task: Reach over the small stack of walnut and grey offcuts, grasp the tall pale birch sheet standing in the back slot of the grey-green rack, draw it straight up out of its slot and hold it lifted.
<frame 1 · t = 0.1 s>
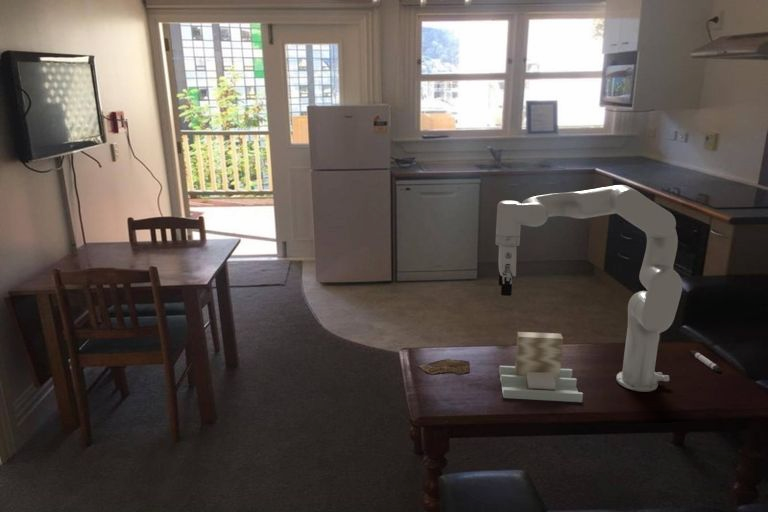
hand: (504, 290, 181), 31 cm above the table, tool pointing down, fingers open, 9 cm apart
marker: (703, 362, 199), on the table
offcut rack: (538, 388, 181), on the table
brown ridged slab: (455, 368, 196), on the table
grey offcut: (540, 383, 177), point 3 cm above the table, touching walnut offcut
birch sheet: (536, 379, 185), point 1 cm above the table, touching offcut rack
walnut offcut: (540, 390, 177), point 1 cm above the table, touching grey offcut, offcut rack
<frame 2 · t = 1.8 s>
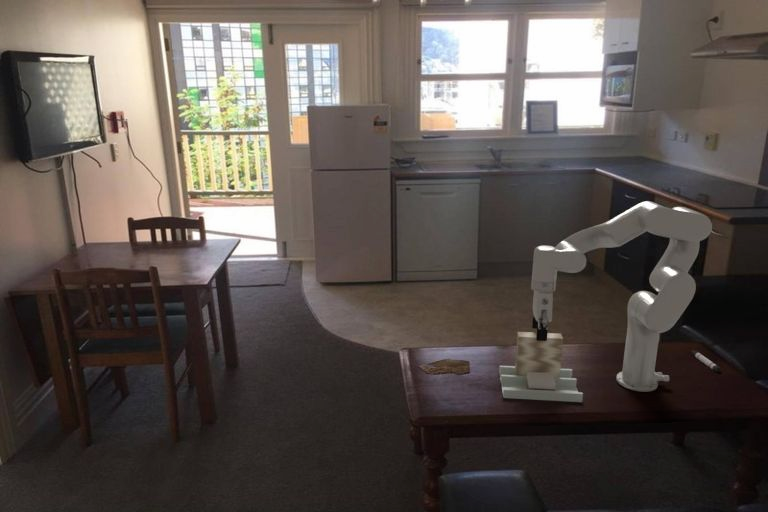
hand: (539, 334, 180), 17 cm above the table, tool pointing down, fingers open, 9 cm apart
nothing on the table moved.
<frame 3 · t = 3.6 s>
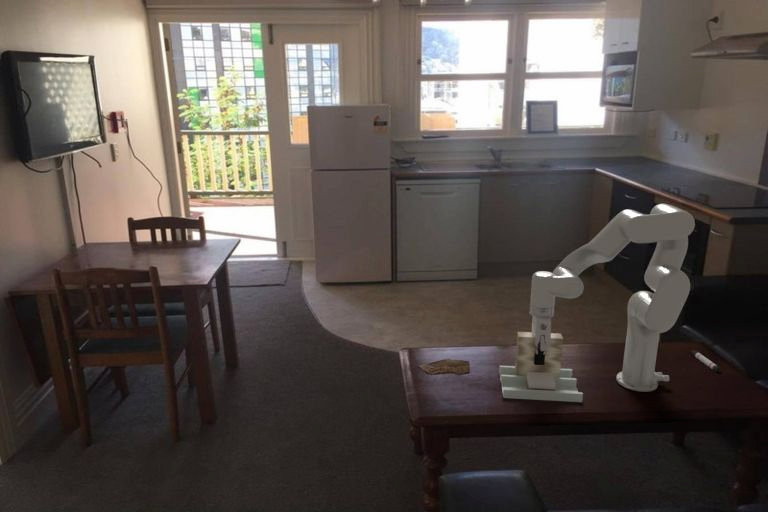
hand: (537, 360, 183), 8 cm above the table, tool pointing down, fingers closed on birch sheet, 4 cm apart
birch sheet: (536, 379, 185), point 1 cm above the table, touching gripper, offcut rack
everything else where it was.
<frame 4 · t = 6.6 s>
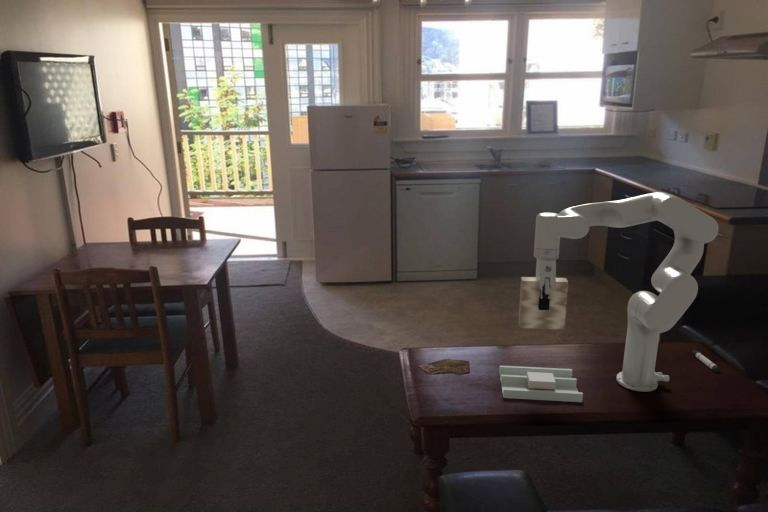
hand: (542, 306, 178), 27 cm above the table, tool pointing down, fingers closed on birch sheet, 4 cm apart
birch sheet: (541, 326, 179), point 20 cm above the table, touching gripper
everything else where it was.
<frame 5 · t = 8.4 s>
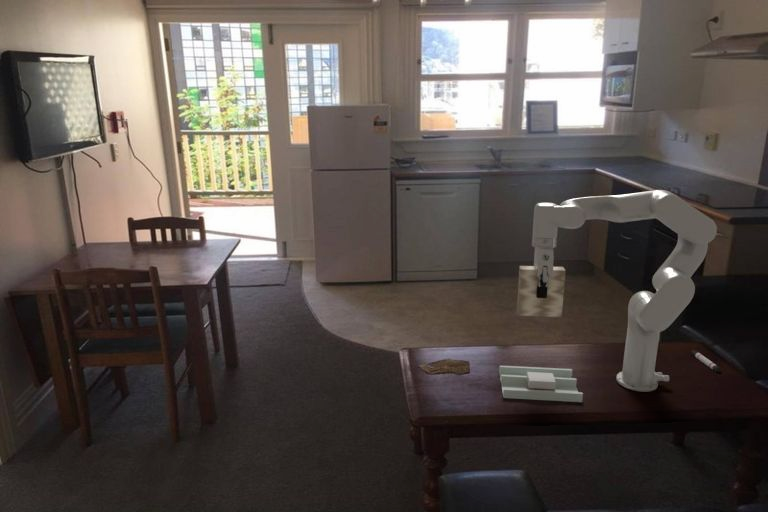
hand: (540, 294, 182), 29 cm above the table, tool pointing down, fingers closed on birch sheet, 4 cm apart
birch sheet: (538, 314, 184), point 22 cm above the table, touching gripper
everything else where it was.
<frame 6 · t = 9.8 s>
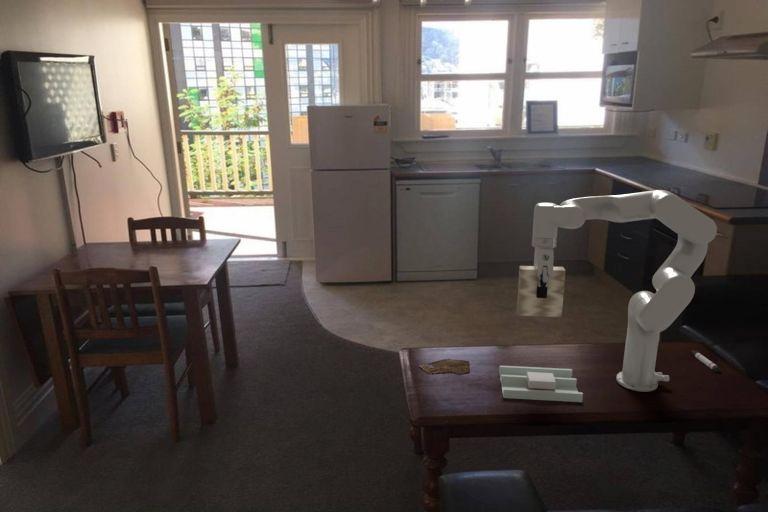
hand: (540, 294, 182), 29 cm above the table, tool pointing down, fingers closed on birch sheet, 4 cm apart
birch sheet: (538, 314, 184), point 22 cm above the table, touching gripper
everything else where it was.
at the end: the gripper is holding birch sheet; birch sheet point 22.4 cm above the table; grey offcut moved 0.0 cm from its start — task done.
